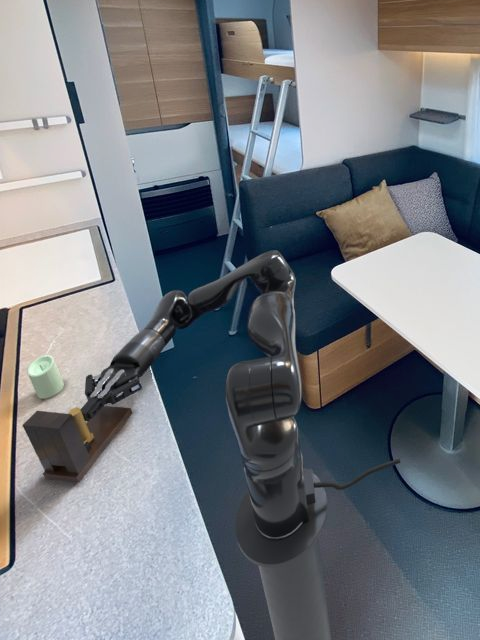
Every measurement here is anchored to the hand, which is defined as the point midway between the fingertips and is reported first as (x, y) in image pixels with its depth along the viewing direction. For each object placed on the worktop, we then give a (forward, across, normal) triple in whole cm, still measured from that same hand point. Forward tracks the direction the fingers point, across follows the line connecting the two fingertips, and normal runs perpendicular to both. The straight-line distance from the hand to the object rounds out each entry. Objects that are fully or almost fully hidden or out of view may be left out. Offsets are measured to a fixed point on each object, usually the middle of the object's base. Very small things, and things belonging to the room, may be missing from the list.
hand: (82, 418), depth 80 cm
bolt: (+3, 0, -5) cm, 6 cm away
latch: (0, 0, -7) cm, 7 cm away
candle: (-11, +20, -7) cm, 24 cm away
